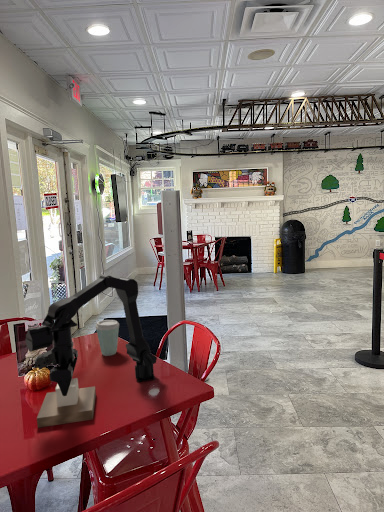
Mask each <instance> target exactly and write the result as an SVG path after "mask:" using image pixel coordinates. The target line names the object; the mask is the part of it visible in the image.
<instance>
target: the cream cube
mask: <svg viewBox="0 0 384 512" xmlns="http://www.w3.org/2000/svg"><path fill="white" fill-rule="evenodd" d="M55 392H56V399H57V407H62V406H68V405H75V404H77V402H78V398H79V378H78V377H75V378H72V380H71V383H70V386H69V390H68V393H67V396H63V395H62V392H61V390H60V388H59V385H58V383H57V384H56V386H55Z"/></svg>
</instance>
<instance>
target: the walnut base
mask: <svg viewBox="0 0 384 512" xmlns="http://www.w3.org/2000/svg"><path fill="white" fill-rule="evenodd" d="M78 389H79V398H78V402H77V404H75V405H68V406H62V407H57V399H56V391H51V392H50V391H49V392H46V395H45V397H44V399H43V402H42V404H41V406H40V409H39V412H38V413H37V416H36V423H37V425H36V427H37V428H44V427H45V428H46V427H51V426H57V425H59V426H60V425H63V424H64V425H65V424H71V423H78V422H83V421H90V420H93V419H94V413H95V405H96V398H97V397H96V396H97V392H96V386H88V387H80V388H79V387H78Z"/></svg>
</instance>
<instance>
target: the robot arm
mask: <svg viewBox="0 0 384 512" xmlns="http://www.w3.org/2000/svg"><path fill="white" fill-rule="evenodd" d="M109 288H111V289H114V290H115V292H116V295H117V297H118V298H119V300H120V301H121V302H122V305H123V310H124V315H125V320H126V321H125V322H126V325H127V330H128V335H129V340H128V343H125V349H126V354H127V355H128V356H129V357H130V358H131V359H132V361H133V362H136V363H135V365H134V374H135V379H136V381H137V383H140V382H148V381H153V380H156V377H155V374H154V373H155V372H154V364H156V363H157V360H158V359H157V358H158V357H157V356H156V355H155V354H153V353H152V351H151V349H150V347H149V343H148V341H146V339H145V338H144V334H143V329H142V325H141V320H140V314H139V309H138V305H137V299H138V296H139V284H138V282H137V280H136V279H133V278H130V277H129V278H127V277H120V278H117V277H114V276H112V275H108V274H102V275H99V277H98V278H97V279H95V280H94V281H93V282H91V283H90V284H87V285H86V286H85V287H84V288H82V289H81V290H79V291H77V292H75V293H74V294H73V295H71V296H68V297H65V298H62V299H59V300H57V301H55V302H53V303H52V304H50V305H49V306H48V309H47V314H46V315H45V317H44V319H43V320H42V323H41V325H40V326H36V327H30V328H29V327H28V328H27V329H26V330H27V332H26V334H25V339H24V340H25V344H26V348H27V350H28V351H29V352H31V353H32V352H35V351H39V350H43V349H46V348H49V347H51V345H52V346H53V347H52V348H51V350H50V349H49V350H48V351H46V352H44V353H41V354H39V355H36V356H37V357H36V359H35V368H36V367H38V370H43V369H44V368H45V367H48V365H50V364H52V366H53V365H57V364H58V366H56V367H52V369H50V372H49V381H50V382H53V383H57V384H58V385H59V388H60V390H61V392H62V395H63V396H67V393H68V390H69V386H70V383H71V380H72V379H73V375H74V372H75V368H76V365H77V362H78V357H79V353H78V349H76V348H74V344H75V343H74V341H73V334H72V328H74V327H77V326H78V323H77V322H75V321H74V320H73V319H72V318H74V317H75V316H76V315H77V314H78V312H79V310H80V309H81V308H82V307H83V306H84V305H86V304H87V303H89V302H90V301H92V300H93V299H95V298H96V297H97V296H99V295H100V294H102V293H103V292H105V291H106V290H107V289H109Z"/></svg>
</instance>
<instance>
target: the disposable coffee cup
mask: <svg viewBox="0 0 384 512" xmlns="http://www.w3.org/2000/svg"><path fill="white" fill-rule="evenodd" d="M119 328H120V323H119V321H117V320H115V319H105V320H104V319H103V320H98V321H97V322H96V324H95V330H96V334H97V338H98V343H99V347H100V352H101V354H102V356H105V357H110V356H114V355H116V353H117V350H118V341H119V340H118V339H119Z"/></svg>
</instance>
